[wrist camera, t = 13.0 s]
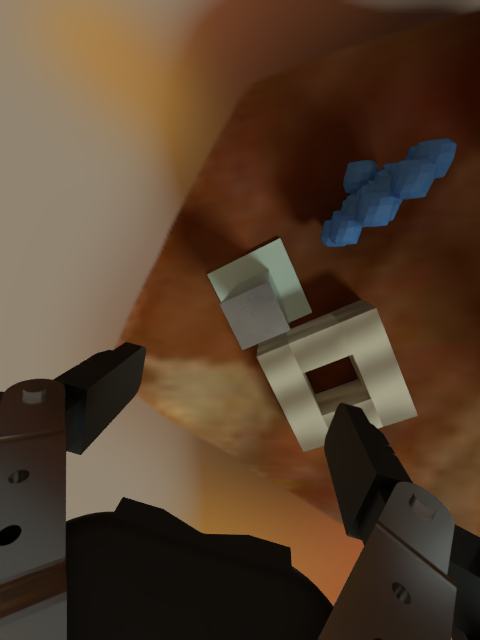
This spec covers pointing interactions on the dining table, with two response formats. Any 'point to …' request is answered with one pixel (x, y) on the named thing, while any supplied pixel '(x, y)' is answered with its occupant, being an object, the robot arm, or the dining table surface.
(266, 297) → the peg
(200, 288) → the dining table surface
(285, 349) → the holder
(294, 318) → the mat
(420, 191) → the grapes
